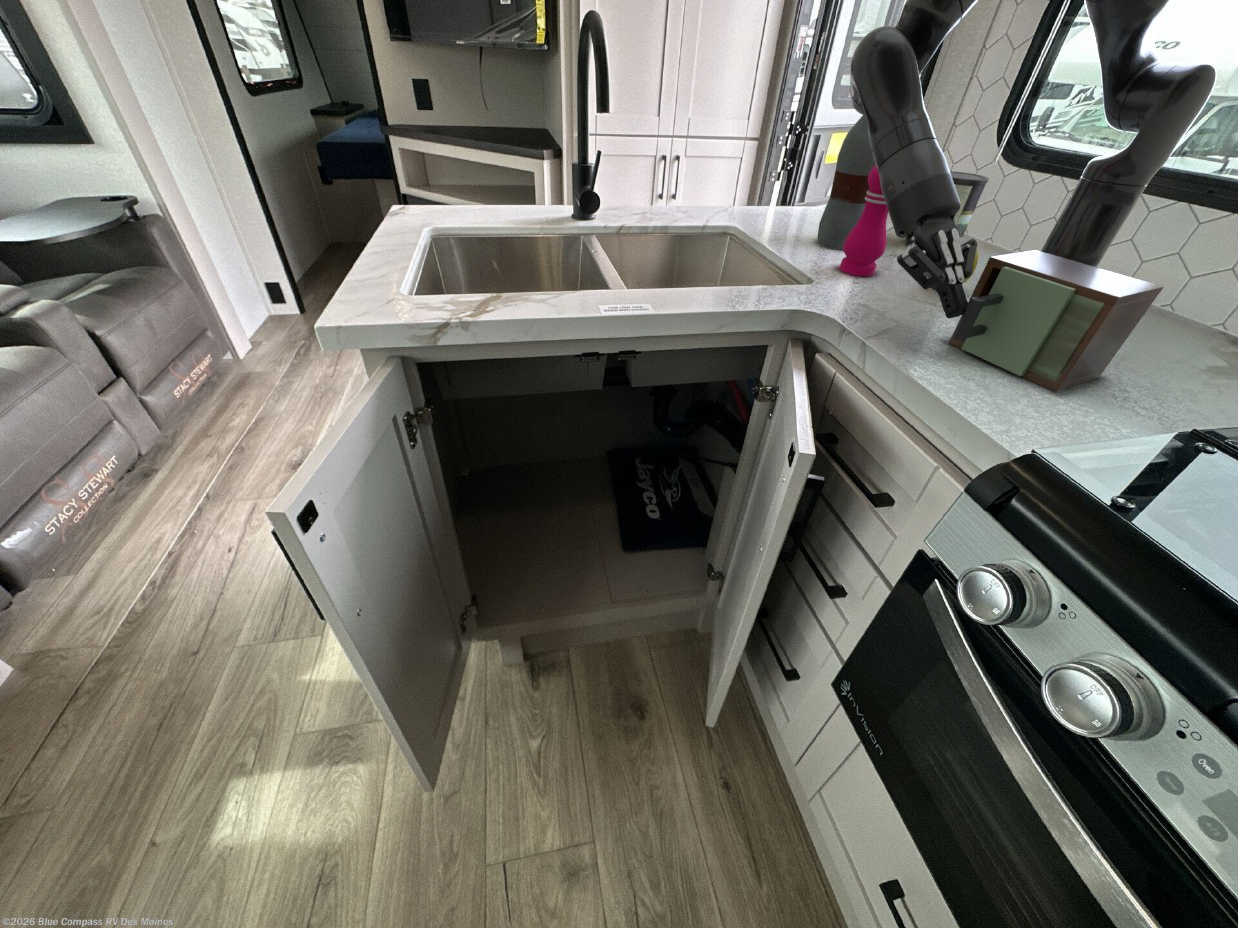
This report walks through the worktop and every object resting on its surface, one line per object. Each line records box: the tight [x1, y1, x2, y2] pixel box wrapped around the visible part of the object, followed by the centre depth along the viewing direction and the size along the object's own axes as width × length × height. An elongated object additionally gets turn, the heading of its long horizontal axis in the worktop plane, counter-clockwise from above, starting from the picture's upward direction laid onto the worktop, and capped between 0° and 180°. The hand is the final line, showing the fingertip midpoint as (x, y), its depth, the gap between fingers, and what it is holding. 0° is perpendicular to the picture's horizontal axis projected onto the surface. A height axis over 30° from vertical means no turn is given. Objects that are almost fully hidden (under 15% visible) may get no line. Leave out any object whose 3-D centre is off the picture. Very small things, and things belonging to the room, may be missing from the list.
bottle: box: [817, 114, 876, 251], centre depth 102 cm, size 9×9×30 cm
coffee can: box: [950, 170, 990, 239], centre depth 110 cm, size 10×10×14 cm
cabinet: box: [948, 249, 1164, 393], centre depth 67 cm, size 10×15×12 cm, turn 27°
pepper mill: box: [839, 165, 889, 277], centre depth 91 cm, size 7×7×20 cm
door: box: [952, 267, 1076, 377], centre depth 64 cm, size 6×8×11 cm
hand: (958, 315), depth 66 cm, fingers closed
